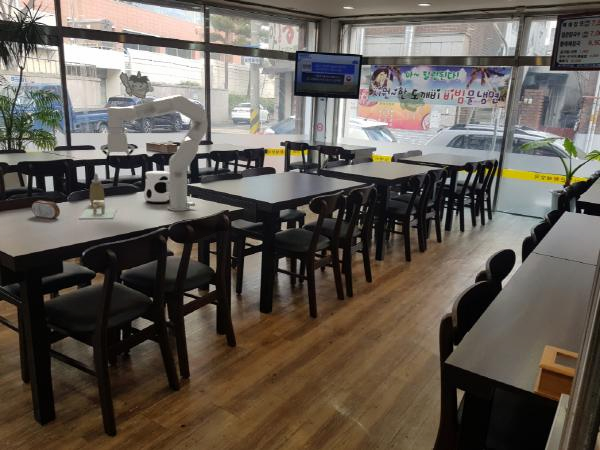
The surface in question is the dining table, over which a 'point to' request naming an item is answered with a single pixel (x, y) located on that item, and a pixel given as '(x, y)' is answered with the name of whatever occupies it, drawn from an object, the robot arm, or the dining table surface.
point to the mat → (98, 214)
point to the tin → (45, 209)
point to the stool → (98, 203)
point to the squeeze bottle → (96, 190)
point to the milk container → (157, 186)
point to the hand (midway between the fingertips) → (119, 162)
